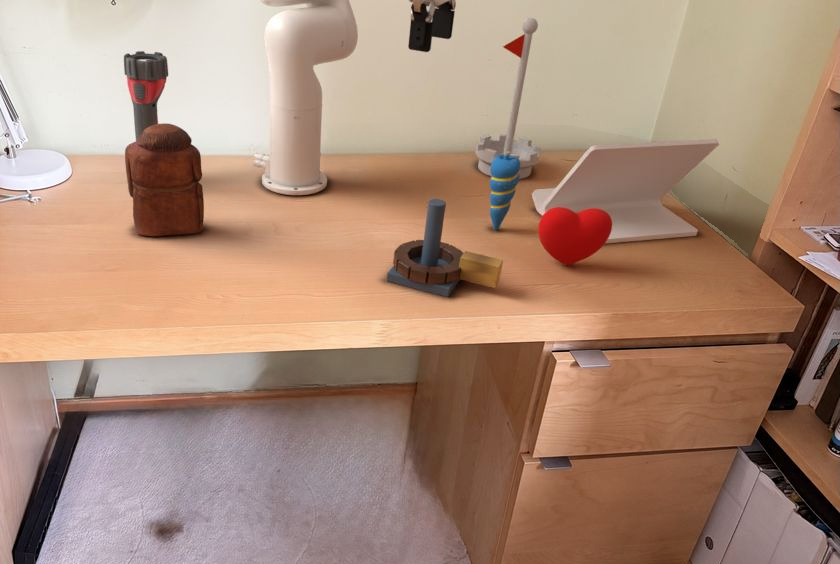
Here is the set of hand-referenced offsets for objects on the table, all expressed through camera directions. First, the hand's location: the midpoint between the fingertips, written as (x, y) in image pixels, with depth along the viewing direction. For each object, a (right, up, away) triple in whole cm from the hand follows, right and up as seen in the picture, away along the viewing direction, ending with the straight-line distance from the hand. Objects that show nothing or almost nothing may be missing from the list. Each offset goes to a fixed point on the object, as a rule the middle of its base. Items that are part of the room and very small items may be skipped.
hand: (430, 43), depth 115 cm
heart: (+24, -32, +14) cm, 42 cm away
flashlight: (-49, -13, +35) cm, 61 cm away
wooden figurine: (-42, -25, +17) cm, 52 cm away
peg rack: (0, -34, +8) cm, 35 cm away
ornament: (+14, -24, +23) cm, 37 cm away
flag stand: (+21, -8, +48) cm, 53 cm away
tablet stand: (+37, -21, +30) cm, 52 cm away
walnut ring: (+3, -33, +6) cm, 34 cm away
